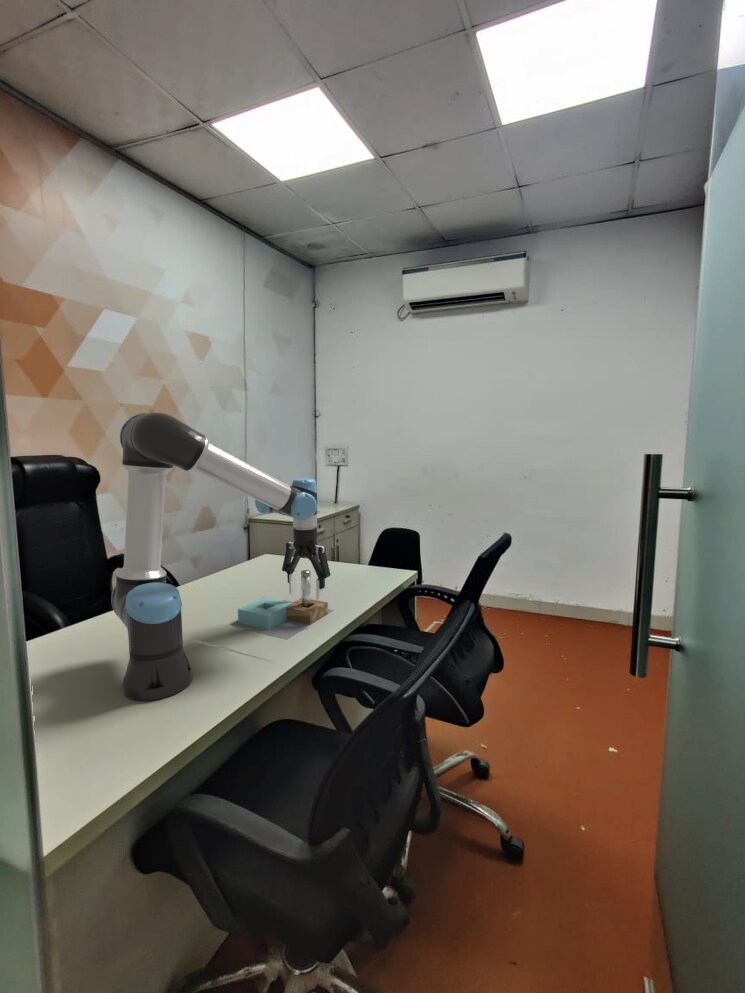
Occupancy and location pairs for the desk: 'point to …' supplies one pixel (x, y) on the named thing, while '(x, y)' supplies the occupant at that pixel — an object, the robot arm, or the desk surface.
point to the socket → (263, 613)
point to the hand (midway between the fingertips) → (306, 595)
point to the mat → (278, 628)
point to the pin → (306, 588)
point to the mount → (307, 611)
